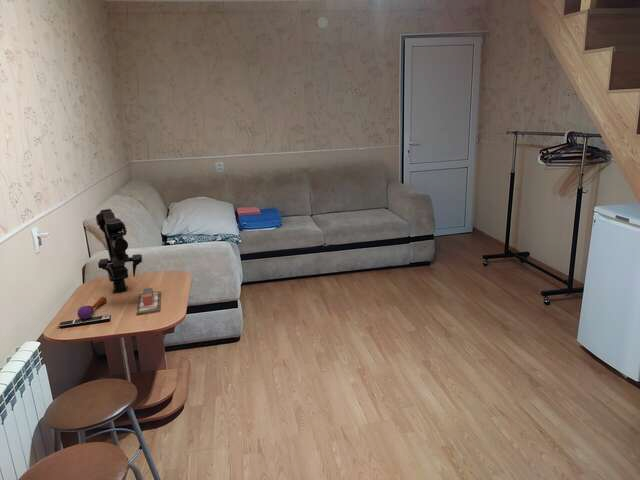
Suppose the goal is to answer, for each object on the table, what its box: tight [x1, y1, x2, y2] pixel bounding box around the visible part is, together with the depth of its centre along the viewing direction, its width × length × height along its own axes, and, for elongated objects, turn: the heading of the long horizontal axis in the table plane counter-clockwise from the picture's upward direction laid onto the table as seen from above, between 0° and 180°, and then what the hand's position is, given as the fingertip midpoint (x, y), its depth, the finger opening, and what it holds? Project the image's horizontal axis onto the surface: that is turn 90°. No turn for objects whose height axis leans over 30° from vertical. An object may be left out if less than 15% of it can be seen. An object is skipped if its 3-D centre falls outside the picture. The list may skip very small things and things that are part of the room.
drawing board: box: [136, 290, 162, 316], centre depth 220 cm, size 24×10×1 cm, turn 17°
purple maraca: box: [77, 296, 108, 320], centre depth 214 cm, size 6×6×20 cm
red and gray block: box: [142, 287, 154, 306], centre depth 220 cm, size 11×4×4 cm, turn 17°
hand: (123, 278), depth 221 cm, fingers open, 9 cm apart
